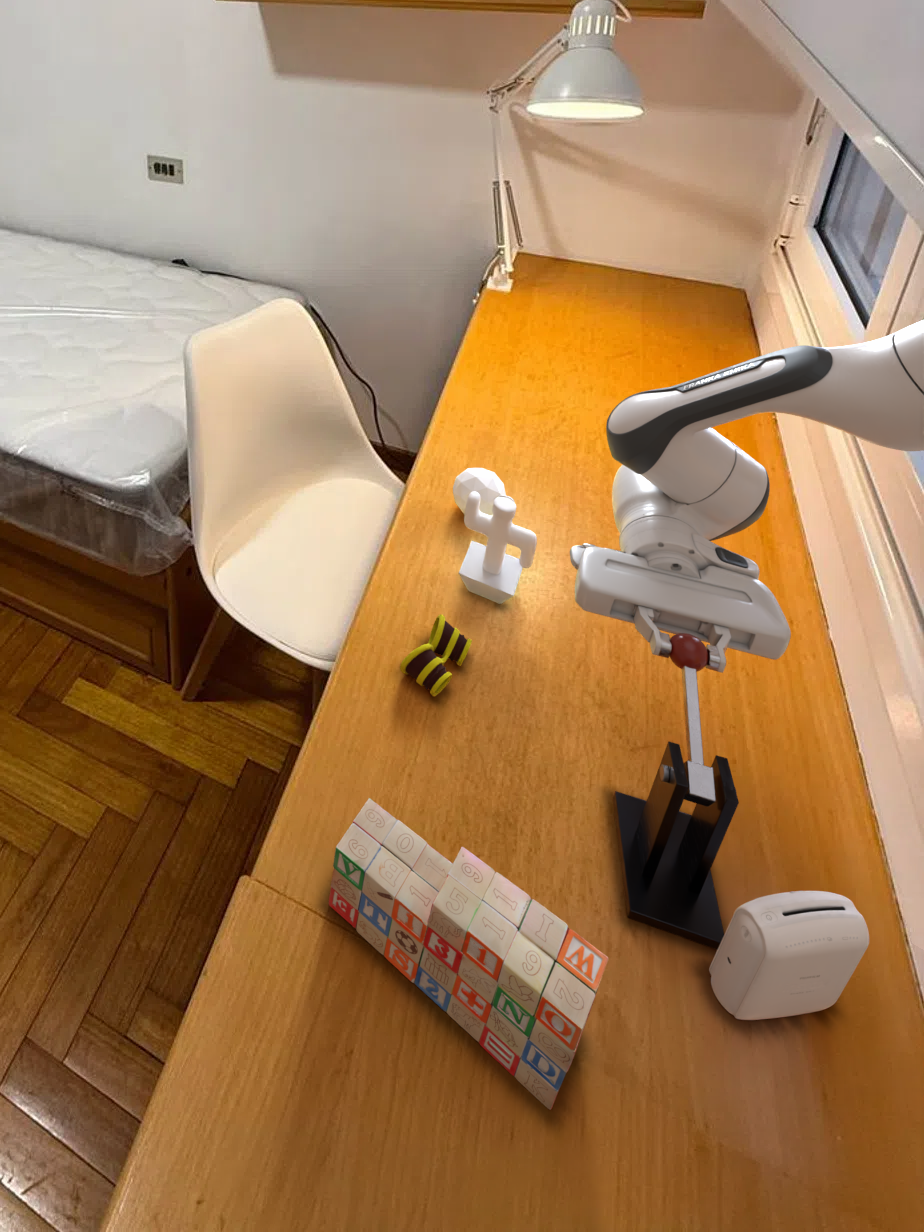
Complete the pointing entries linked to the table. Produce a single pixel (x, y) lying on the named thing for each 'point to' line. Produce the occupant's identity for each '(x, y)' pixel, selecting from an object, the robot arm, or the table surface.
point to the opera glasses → (428, 664)
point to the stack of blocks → (470, 945)
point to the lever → (693, 717)
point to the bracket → (674, 851)
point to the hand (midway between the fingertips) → (689, 659)
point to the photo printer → (788, 954)
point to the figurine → (495, 550)
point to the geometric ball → (478, 488)
